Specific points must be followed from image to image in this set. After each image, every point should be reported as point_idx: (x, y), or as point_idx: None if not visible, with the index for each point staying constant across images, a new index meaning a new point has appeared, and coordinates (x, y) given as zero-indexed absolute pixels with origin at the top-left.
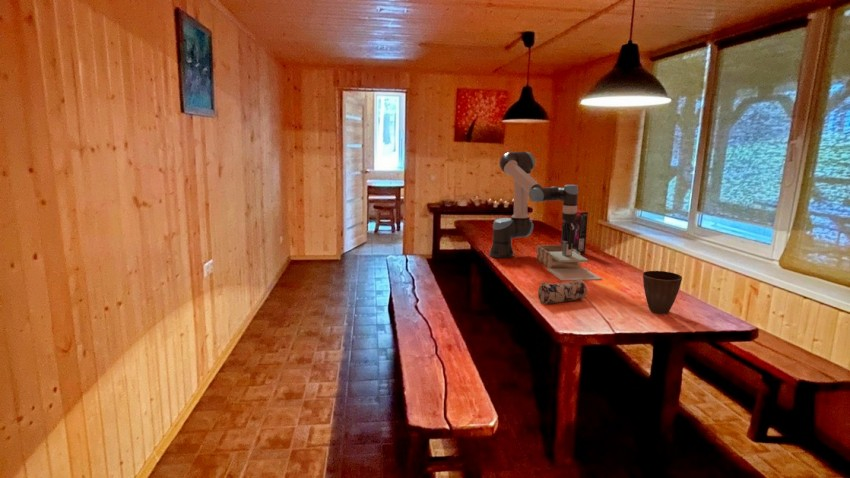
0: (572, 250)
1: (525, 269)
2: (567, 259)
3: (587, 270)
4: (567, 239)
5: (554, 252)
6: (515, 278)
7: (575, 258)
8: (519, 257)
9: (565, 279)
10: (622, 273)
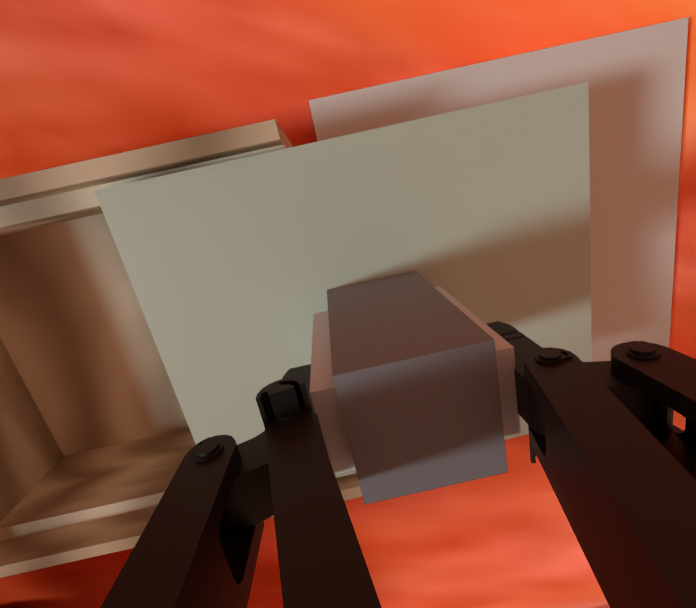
0: (34, 195)
1: (383, 540)
2: (565, 341)
3: (412, 90)
4: (557, 496)
5: (239, 436)
6: (581, 584)
7: (523, 243)
8: (35, 572)
9: (666, 331)
10: None
